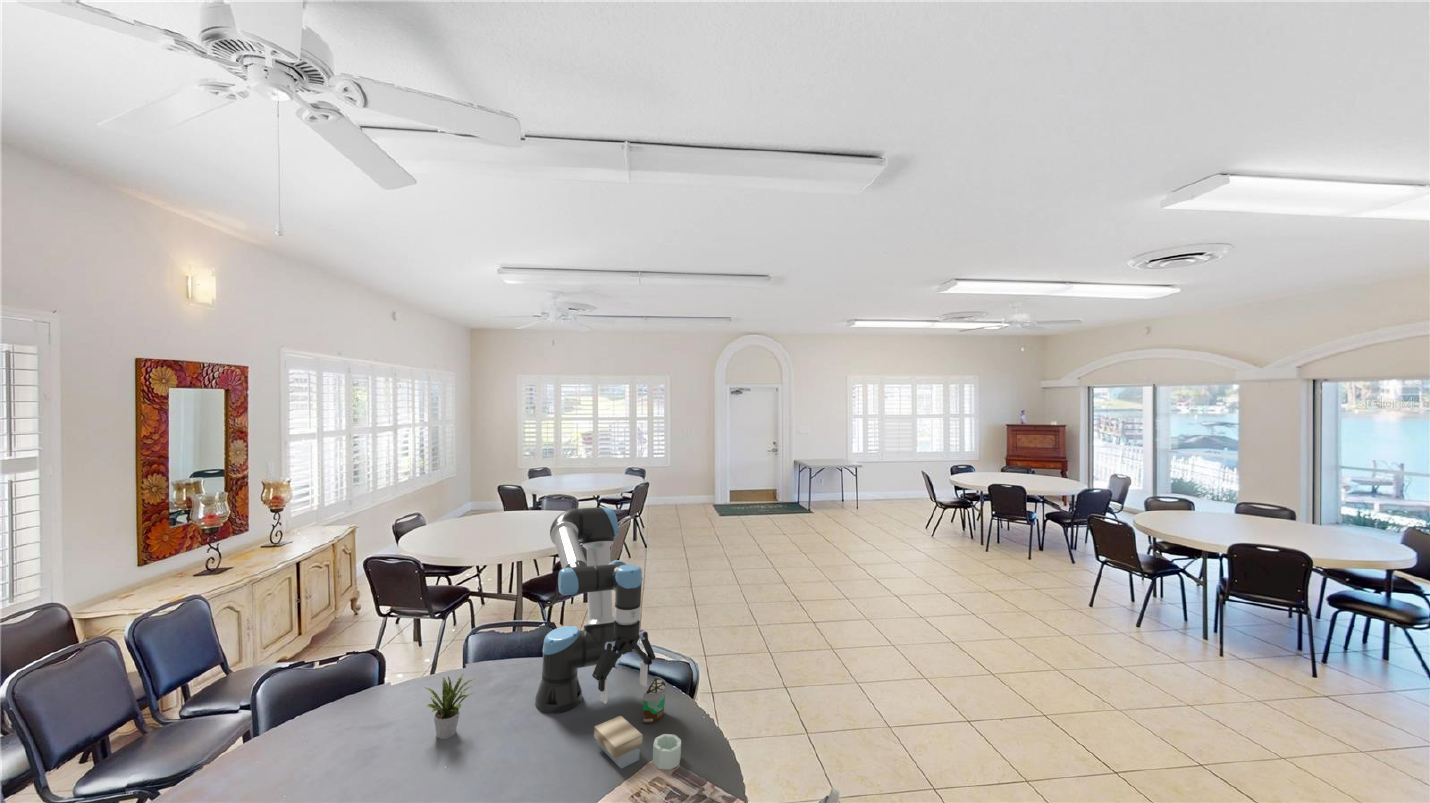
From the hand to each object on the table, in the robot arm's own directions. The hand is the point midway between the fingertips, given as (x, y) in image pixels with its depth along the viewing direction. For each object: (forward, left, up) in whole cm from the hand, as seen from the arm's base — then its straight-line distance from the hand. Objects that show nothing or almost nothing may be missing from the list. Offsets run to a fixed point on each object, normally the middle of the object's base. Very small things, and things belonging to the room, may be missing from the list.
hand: (623, 692), depth 151 cm
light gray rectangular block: (-1, -1, -17) cm, 17 cm away
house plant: (-39, -36, -17) cm, 55 cm away
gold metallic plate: (-1, -1, -14) cm, 14 cm away
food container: (-8, +18, -17) cm, 26 cm away
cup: (+11, +8, -17) cm, 22 cm away
